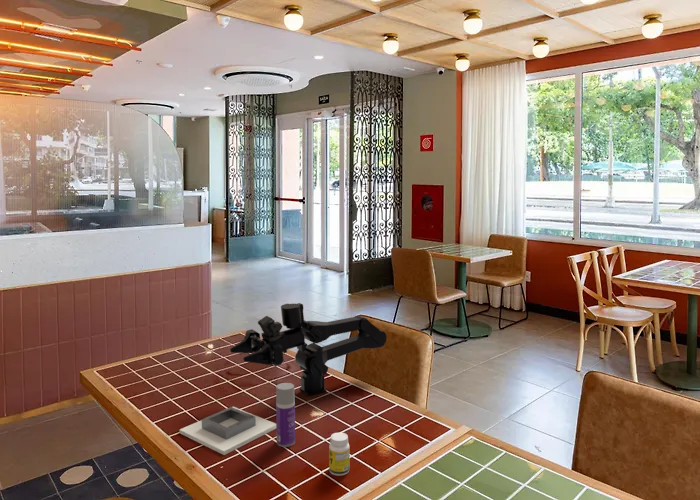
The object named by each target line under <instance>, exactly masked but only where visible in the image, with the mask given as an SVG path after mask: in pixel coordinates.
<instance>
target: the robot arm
mask: <svg viewBox="0 0 700 500" xmlns="http://www.w3.org/2000/svg"><path fill="white" fill-rule="evenodd" d="M280 313H281V320H282V321H281V322H282V323H281V322H280V321H275V320H274V319H273V318H272V317H270V316H268V315H266V316H264V317H262V318H261V319H260V320H258V321H257V324H258V325H259V327H260V328H261V331H262V333H261V334H260V333H259V332H258V331H256V330H254V329H253V328H252V329H247V330H246V331H245V335H244V338H243V339H242V340H241V341H239V342H238V343H237V344H234V346H232V347H230V349H229V352H230V353H233V354H235V353H236V354H248V355H246V356H244V357H243V358H242V359H243V362H247V363H252V364H261V365H267V366H273V367H278V366H281V365H282V364H283V363H284V354H286V353H287V352H288V350H291V349H294V348H297V352H296V354H295V357H294V358H295V359H294V360H295V363H296V364H297V365H298V366H299V368H300V370H302V373H301V375H302V376H301V377H300V389H301V391H302V392H304V393H305V394H306V395H308V396H312V395H317V394H321V393H326V392H327V391H328V390H327V389H326V388H325V375H327V373H328V370H329V367H328V366H327V365H326V363H327V362H328V361H331V360H333V359H334V360H335V359H337V358H339V357H342V356H344V355H348V354H351V353H353V352H357V351H359V350H362V349H368V350H369V349H372V350H373V349H380V348H383V347H384V346H385V344H386V343H387V337H388V336H387V334H386V332H385V330H381V329H379V328H378V327H376V326H375V325H374V324H373V323H371V321H370V320H369V319H368V318H366V317H364V316H361V315H354V316H351V317H348V318H346V317H345V318H343V319H342V318H340V319H336V320H331V321H319V320H305V315H304V304H303V303H301V302H298V303H284V304H282V305H281V306H280ZM283 326H284V327H286V329H285V330H282V328H283ZM356 331H357V334H356V335H354V336H351V337H349V338H345V339H342V340H339V341H336V342H333V343H329V344H326V345H324V346H321V345H319V343H322V342H324V341H327V340H328V339H329V338H330V337H332V336H336V335H341V334H345V333H346V334H347V333H351V332H356ZM306 340H307V341H308V342H311V343H309V344H308V343H307V342H306Z"/></svg>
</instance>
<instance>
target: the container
mask: <svg viewBox="0 0 700 500" xmlns="http://www.w3.org/2000/svg"><path fill="white" fill-rule="evenodd" d="M275 389H276V390H275V392H276V396H275V416H276V417H275V418H276V419H275V421H276V423H275V424H276V429H275V431H276V445H277V446H279V447H284V448H288V447H289V448H290V447H292V446H294V445H295V443H296V403H295V400H296V399H295V397H296V396H295V385H294V384H293V383H290V382H282V383H278V384H277V385H276V388H275Z"/></svg>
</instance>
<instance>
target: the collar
mask: <svg viewBox="0 0 700 500" xmlns="http://www.w3.org/2000/svg"><path fill="white" fill-rule="evenodd" d="M233 407H234V406H230V407H227V408H225V409H222V410H219V411H218V412H216V413H213V414H211V415H209V416H206V417H204V418H202V419H201V420H202V429H204V430H206V431H209V432H211V433H213V434H215V435H217V436H219V437H221V438H224V439H226V440H227V439H229V438H231V437H233V436H235V435H237V434H239V433H241V432H243V431H245V430H247V429H250V428H252V427H254V426H256V417H255V416H256V415H255V416H253V415H254V414H253V415H250V414H251V413H250V414H248V413H249V412H248V413H245V412H246V411H245V412H243V411H244V410H243V411H240V410H241V409H240V410H238V409H239V408H238V409H235V408H236V407H235V408H233ZM230 418H232V419H234V420H237V421H239V422H237V423H235V424H233V425H231V426H229V427H225V426H223V425H220V424H219V423H221V422H223V421H225V420H227V419H230Z"/></svg>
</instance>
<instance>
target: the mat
mask: <svg viewBox="0 0 700 500" xmlns="http://www.w3.org/2000/svg"><path fill="white" fill-rule="evenodd" d="M232 407H233V408H235V409H238V410H240V411H243V412H245V413H248V414H250V415H253V416H255V417H256V426H254V427H252V428H250V429H247V430H245V431H243V432H241V433H239V434H237V435H235V436H233V437H231V438H229V439H227V440H226V439H224V438H221V437H219V436H217V435H215V434H213V433H211V432H209V431H206V430H204V429H202V419H201V420H198V421H196V422H194V423H191V424H189V425H187V426H185V427H182V428H180V429H179V434H181V435H183V436H184V437H186V438H189V439H191V440H192V441H195V442H196V443H199V444H200V445H202V446H205V447H206V448H209V449H210V450H212V451H215V452H217V453H219V454H221V455H223V456H226V455H227V454H229V453H231V452H233V451H235V450H237V449H239V448H241V447H243V446H245V445H247V444H248V443H251V442H252V441H254V440H256V439H258V438H261V437H263V436H264V435H267V434H268V433H271V432H272V431H274V430H276V423H275V422H273V421H270V420H267V419H266V418H263V417H260V416H258V415H255V414H253V413H250V412H247V411H244V409H243V410H242V409H240V408H238V407H236V406H232ZM237 422H239V421H237V420H234V419H232V418H230V419H227V420H225V421H223V422H221V423H219V424H220V425H223V426H225V427H229V426H231V425H233V424H235V423H237Z"/></svg>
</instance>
